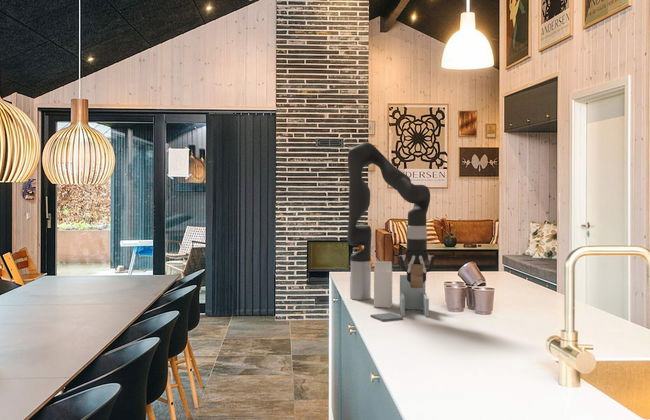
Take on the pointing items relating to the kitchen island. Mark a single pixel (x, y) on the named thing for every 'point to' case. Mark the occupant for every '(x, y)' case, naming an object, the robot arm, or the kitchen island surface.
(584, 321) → the kitchen island surface
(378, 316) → the slate pad
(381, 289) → the milk carton
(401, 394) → the kitchen island surface
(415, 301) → the shelf bay
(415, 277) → the walnut block
